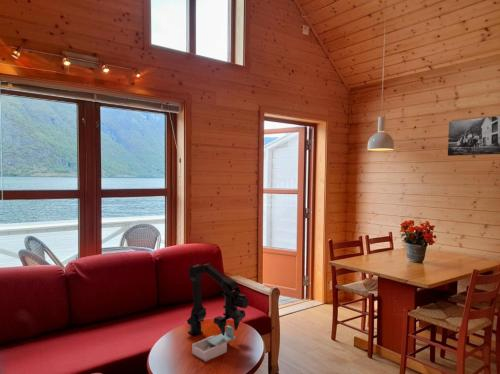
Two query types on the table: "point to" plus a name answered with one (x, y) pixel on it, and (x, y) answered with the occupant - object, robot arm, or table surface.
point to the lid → (222, 337)
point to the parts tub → (208, 349)
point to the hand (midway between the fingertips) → (229, 332)
